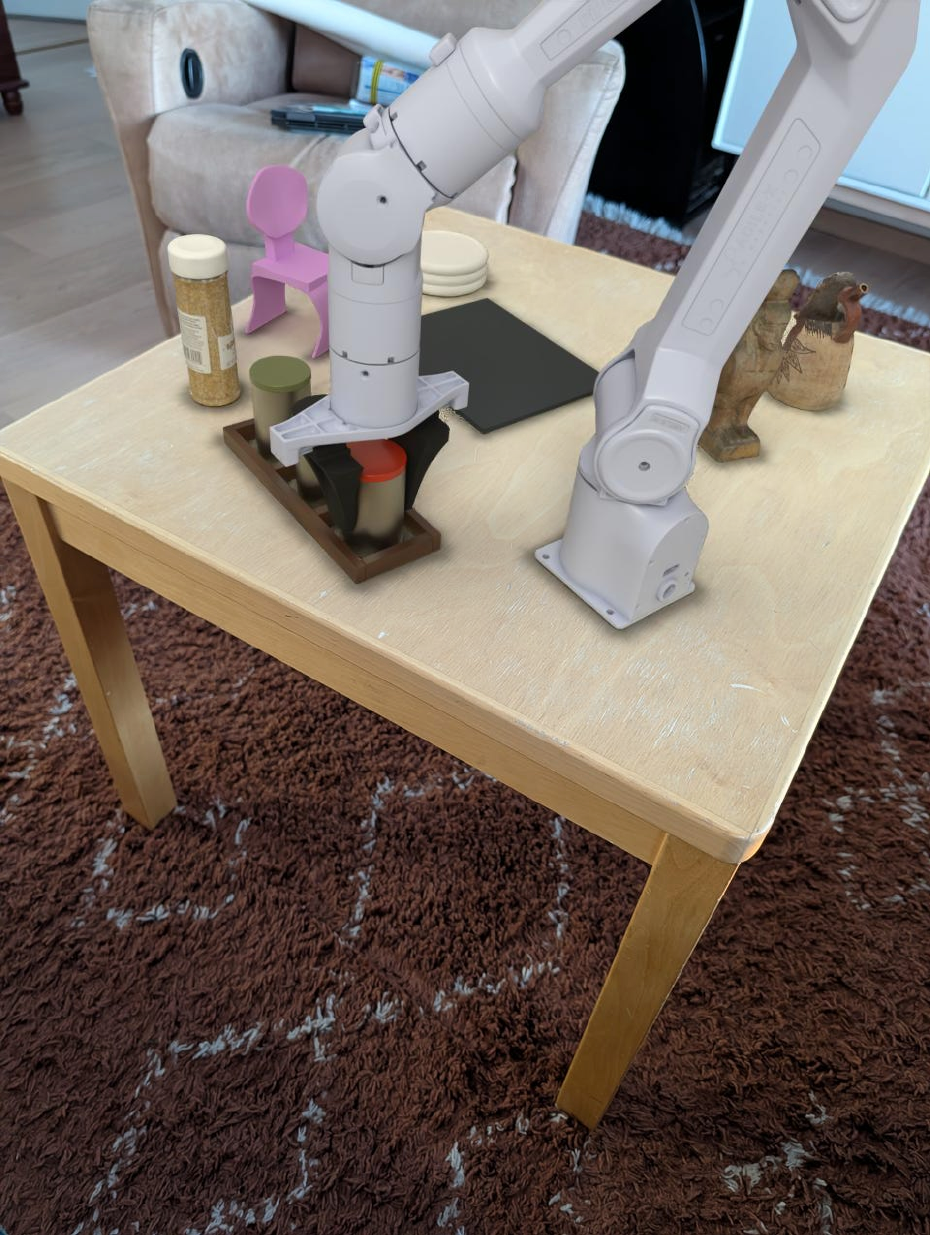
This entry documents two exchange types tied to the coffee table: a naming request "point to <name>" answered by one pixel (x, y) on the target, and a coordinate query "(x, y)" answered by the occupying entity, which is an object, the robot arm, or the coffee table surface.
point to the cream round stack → (452, 263)
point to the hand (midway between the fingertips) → (372, 513)
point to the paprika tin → (378, 497)
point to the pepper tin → (304, 474)
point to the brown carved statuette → (749, 375)
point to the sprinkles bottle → (205, 317)
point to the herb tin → (276, 395)
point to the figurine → (820, 345)
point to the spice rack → (320, 518)
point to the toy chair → (284, 250)
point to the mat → (501, 364)
